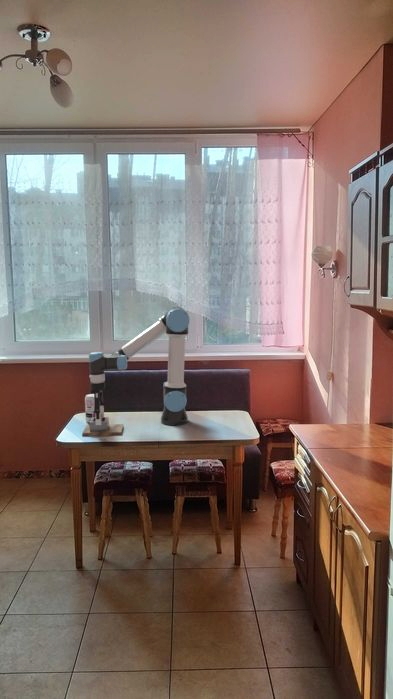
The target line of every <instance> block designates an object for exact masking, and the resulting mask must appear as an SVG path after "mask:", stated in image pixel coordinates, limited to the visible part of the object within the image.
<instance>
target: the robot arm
mask: <svg viewBox="0 0 393 699" xmlns="http://www.w3.org/2000/svg"><path fill="white" fill-rule="evenodd" d="M190 320H191V319H190V315H189V313H188V311H186V310H185V309H184V308H182V307H180V306H175V307H171V308H170V309H169V310H167V311H166V313H164V314H163V315H162V316H161V317H159V318H158V321H157V322H155V323H154V324H152V325H151V326H150V327H148V328H147V329H146V330H144V331H142V332H141V333H139V334H138V335H137V336H135V337H134V338H132V339H131V340H130V341H128V342H127V343H126V344H124V345H122V347H120V348H118V349H117V350H115V351H113V352H112V353H111V355H104V352H102V351H94V352H93V351H92V352H90V353H89V355H88V365H89V369H88V370H89V376H88V378H89V379H90V381H89V382H90V383H89V384H90V390H91V391H95V392H94V393H93V394H94V412H93V413H95V420H96V425H101V414H102V417H105V411H104V410H105V405H106V403H105V401H104V393H103V390H105V389H106V382H105V381H106V375H105V374H106V372H105V371H121V370H127V369H128V361H129V359H132V357H134V356H136V355H137V354H138V353H140V352H141V351H143V349H145V348H147V347H148V346H150V345H151V344H152V343H154V342H155V341H156V340H158V339H160V338H161V337H162V336H164V335H167V337H168V349H167V350H168V352H167V354H168V355H167V381H165V382H163V411H162V413H161V416H160V423H161V424H163V425H166V426H168V425H169V426H182V425H185V424H187V423H188V422H189V417H188V414H187V410H186V408H185V407H186V405H187V402H188V401H187V400H188V399H187V384H186V382H185V380H184V379H185V354H186V353H185V351H186V347H185V346H186V337H187V336H188V335H189V325H190Z"/></svg>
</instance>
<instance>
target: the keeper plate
mask: <svg viewBox="0 0 393 699" xmlns="http://www.w3.org/2000/svg"><path fill="white" fill-rule="evenodd" d="M101 421H102V414H101ZM123 430H124V424H123V423H122V424H121V423H119V424H117V423H116V424H109V428H108V430H107V431H95V432H90V425H89V424H87V425H85V426H84V429H83V431H82V433H81V435H82V437H97V436H98V437H100V436H101V437H102V436H122V434H123Z"/></svg>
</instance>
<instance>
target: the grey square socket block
mask: <svg viewBox="0 0 393 699" xmlns="http://www.w3.org/2000/svg"><path fill="white" fill-rule="evenodd" d="M88 423H89V424H88V425H90V432H95V431H107V430H108V428H109V425H110V418H109V416H104V417H102V421H101V425H96V420H95V417H92V418H91V420H90V422H88Z"/></svg>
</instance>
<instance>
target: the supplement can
mask: <svg viewBox="0 0 393 699" xmlns="http://www.w3.org/2000/svg"><path fill="white" fill-rule="evenodd" d="M84 407H85V408H84V409H85V421H86V422H87V423H89V422H90V420H91V418H92V417H95V413H93V412H94V393H89V394H86V395H85V397H84Z"/></svg>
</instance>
